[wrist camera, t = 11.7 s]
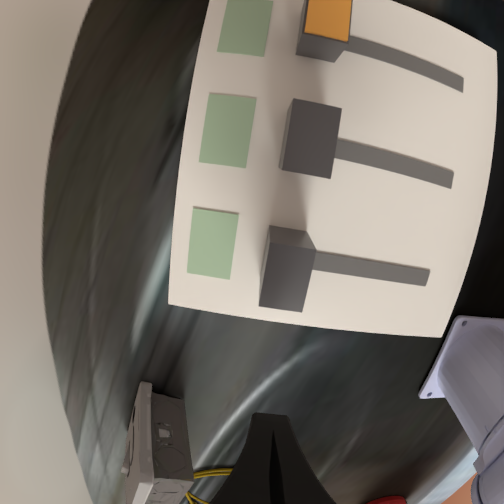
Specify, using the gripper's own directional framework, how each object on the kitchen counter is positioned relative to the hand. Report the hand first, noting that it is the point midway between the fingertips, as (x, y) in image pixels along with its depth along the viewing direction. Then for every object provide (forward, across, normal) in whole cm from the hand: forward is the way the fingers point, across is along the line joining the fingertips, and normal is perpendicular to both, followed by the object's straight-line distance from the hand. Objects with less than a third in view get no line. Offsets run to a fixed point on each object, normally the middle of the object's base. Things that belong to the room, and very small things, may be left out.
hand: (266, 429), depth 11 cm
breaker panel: (+9, -3, -11) cm, 15 cm away
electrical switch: (+10, +7, +12) cm, 17 cm away
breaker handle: (+7, 0, -17) cm, 18 cm away
